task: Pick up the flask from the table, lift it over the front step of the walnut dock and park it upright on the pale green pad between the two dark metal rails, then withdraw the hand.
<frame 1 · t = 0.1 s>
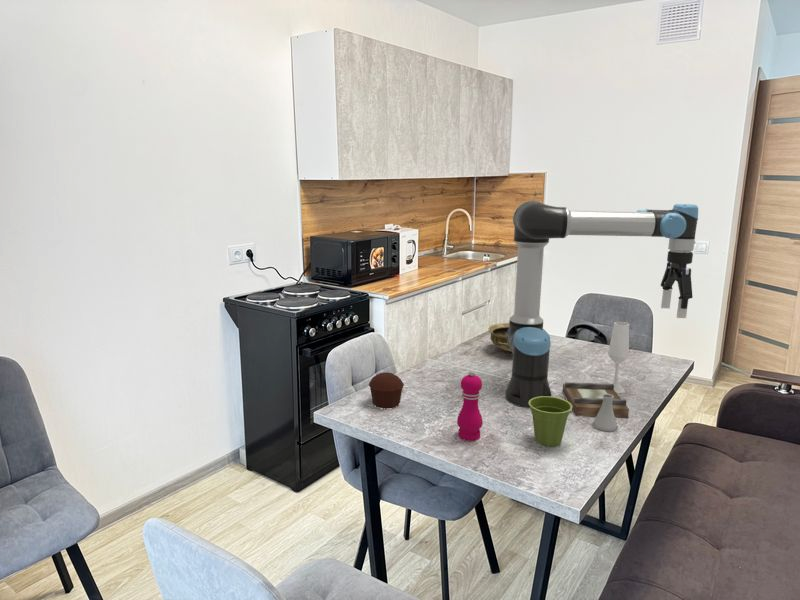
hand: (672, 312, 191), 28 cm above the table, tool pointing down, fingers open, 13 cm apart
champagne flute: (614, 389, 197), on the table
dock: (593, 404, 184), on the table
muffin: (386, 403, 183), on the table
ceramic bowl: (516, 353, 236), on the table
pepper mill: (469, 436, 161), on the table
plant pot: (547, 441, 158), on the table
flask: (604, 427, 168), on the table
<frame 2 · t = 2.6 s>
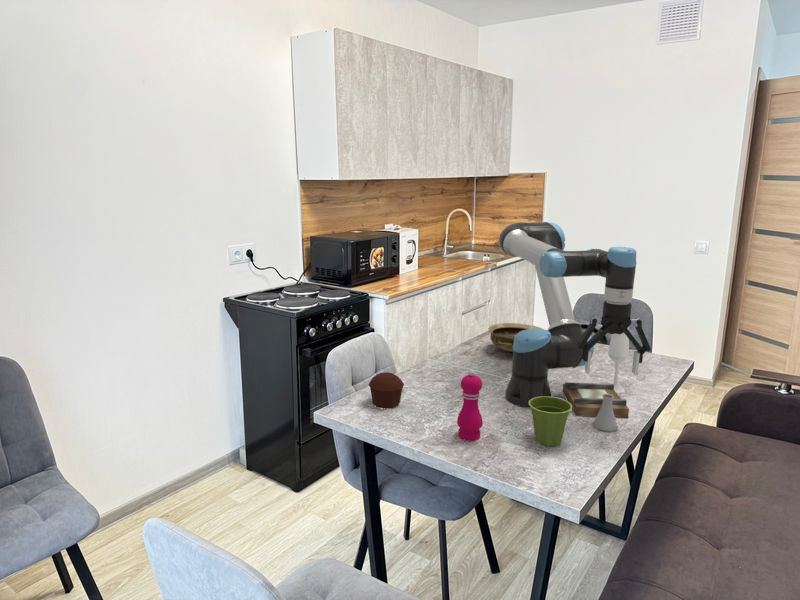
hand: (610, 372, 164), 17 cm above the table, tool pointing down, fingers open, 13 cm apart
nothing on the table moved.
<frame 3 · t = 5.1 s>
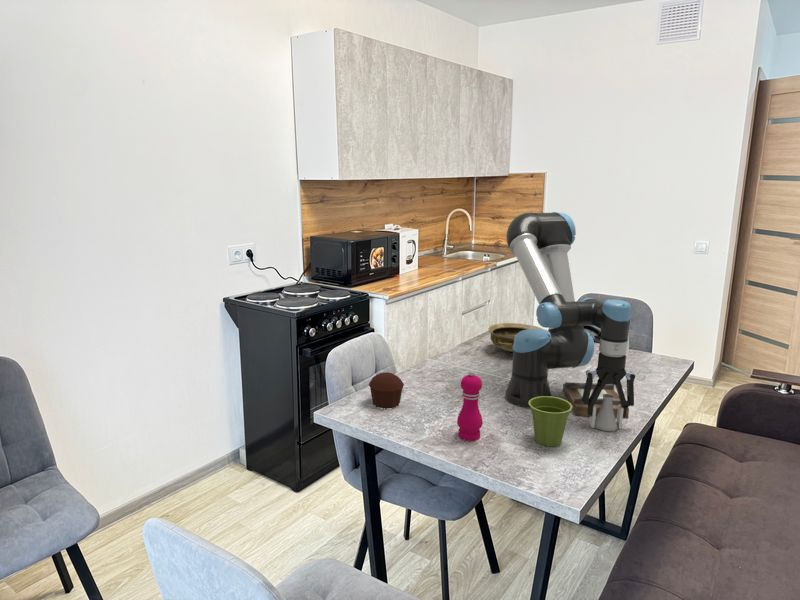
hand: (605, 426, 168), 0 cm above the table, tool pointing down, fingers closed on flask, 7 cm apart
flask: (605, 427, 168), on the table, touching gripper
everything else where it was.
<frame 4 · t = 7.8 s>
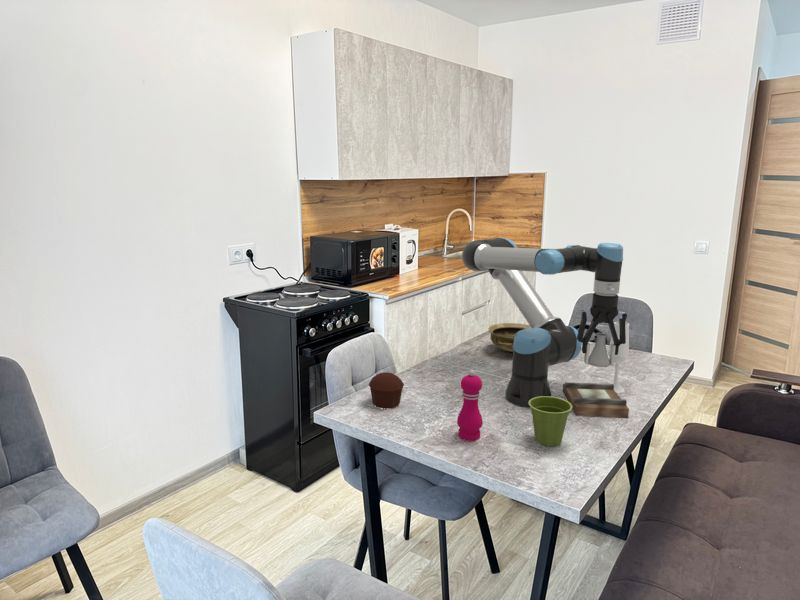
hand: (598, 363, 179), 15 cm above the table, tool pointing down, fingers closed on flask, 7 cm apart
flask: (598, 364, 179), point 14 cm above the table, touching gripper
everything else where it was.
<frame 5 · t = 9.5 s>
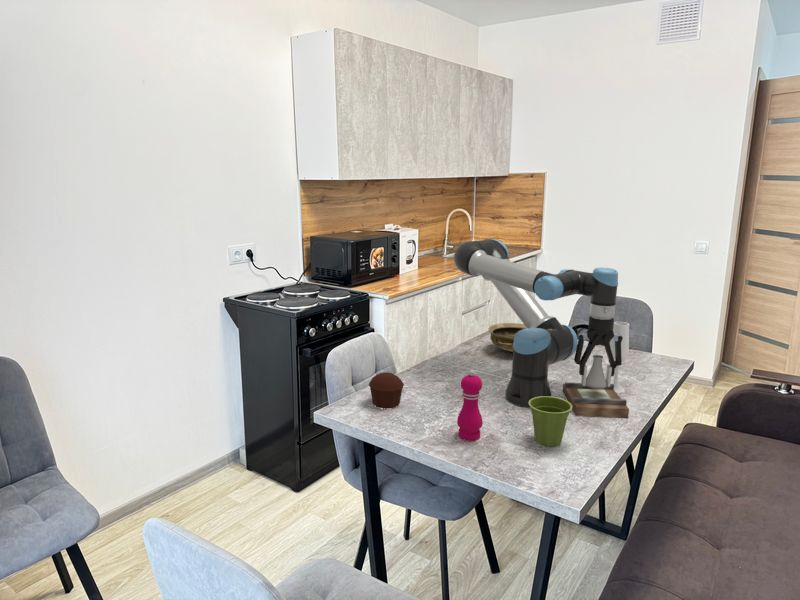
hand: (595, 384, 183), 7 cm above the table, tool pointing down, fingers closed on flask, 7 cm apart
flask: (595, 385, 183), point 6 cm above the table, touching gripper
everything else where it was.
when the fingers open (5 cm above the table, at t = 10.7 s): flask drops 1 cm, resting on dock.
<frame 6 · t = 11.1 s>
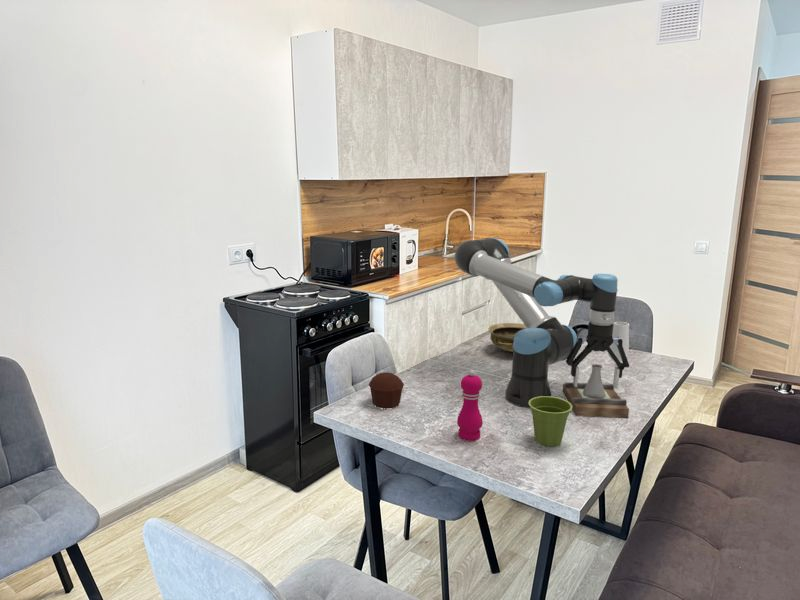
hand: (595, 386, 183), 6 cm above the table, tool pointing down, fingers open, 12 cm apart
flask: (594, 395, 184), point 3 cm above the table, touching dock
everything else where it was.
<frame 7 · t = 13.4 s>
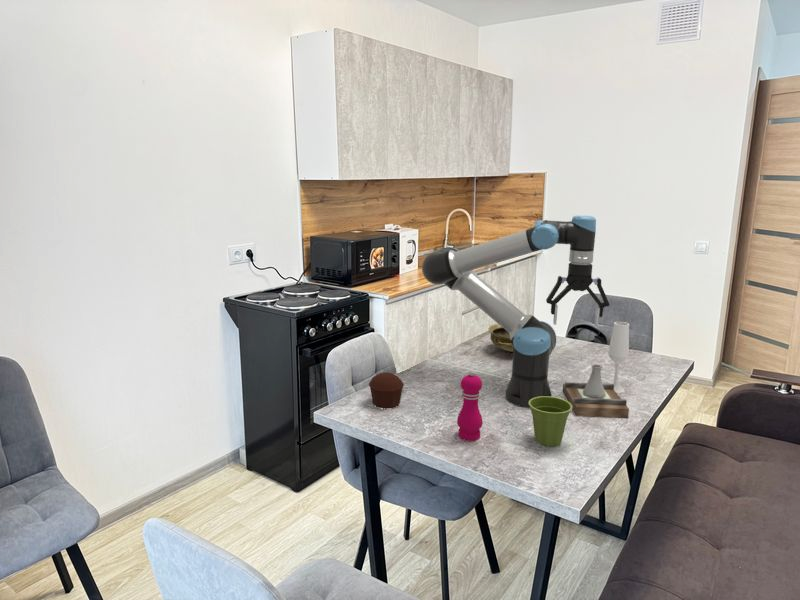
hand: (575, 324, 190), 24 cm above the table, tool pointing down, fingers open, 13 cm apart
nothing on the table moved.
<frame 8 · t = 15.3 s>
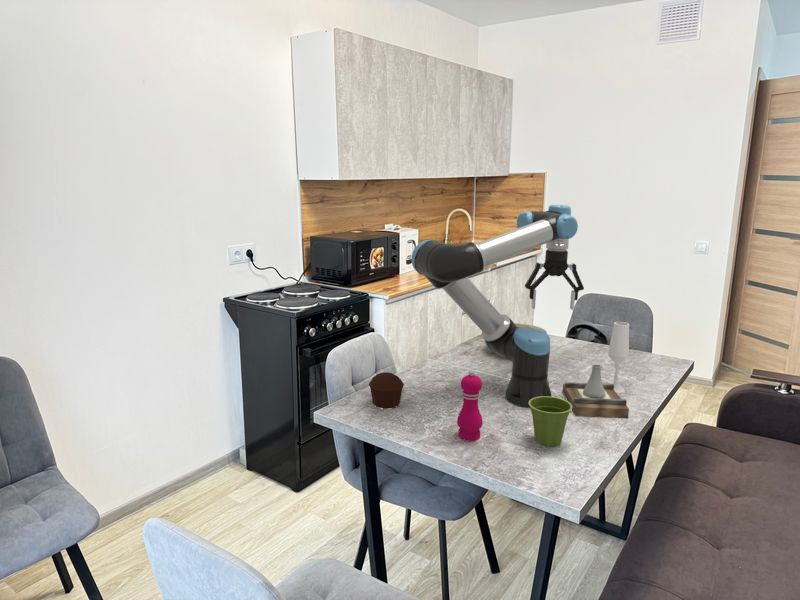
hand: (552, 308, 200), 27 cm above the table, tool pointing down, fingers open, 13 cm apart
nothing on the table moved.
at the end: flask 0.2 cm off-centre on the dock, point 3.1 cm above the dock's base; flask tilted 0°; the gripper is holding nothing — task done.
